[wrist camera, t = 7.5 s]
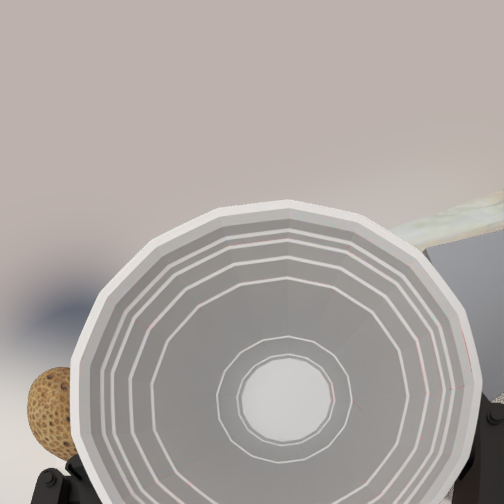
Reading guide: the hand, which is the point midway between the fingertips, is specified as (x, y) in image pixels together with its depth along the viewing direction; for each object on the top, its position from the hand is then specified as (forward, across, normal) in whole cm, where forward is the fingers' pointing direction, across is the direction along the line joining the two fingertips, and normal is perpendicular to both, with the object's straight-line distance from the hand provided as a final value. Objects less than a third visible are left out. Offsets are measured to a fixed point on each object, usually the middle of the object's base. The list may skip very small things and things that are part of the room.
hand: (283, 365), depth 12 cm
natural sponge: (+6, -18, -10) cm, 22 cm away
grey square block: (+9, +20, -8) cm, 23 cm away
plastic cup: (+2, 0, -5) cm, 5 cm away
